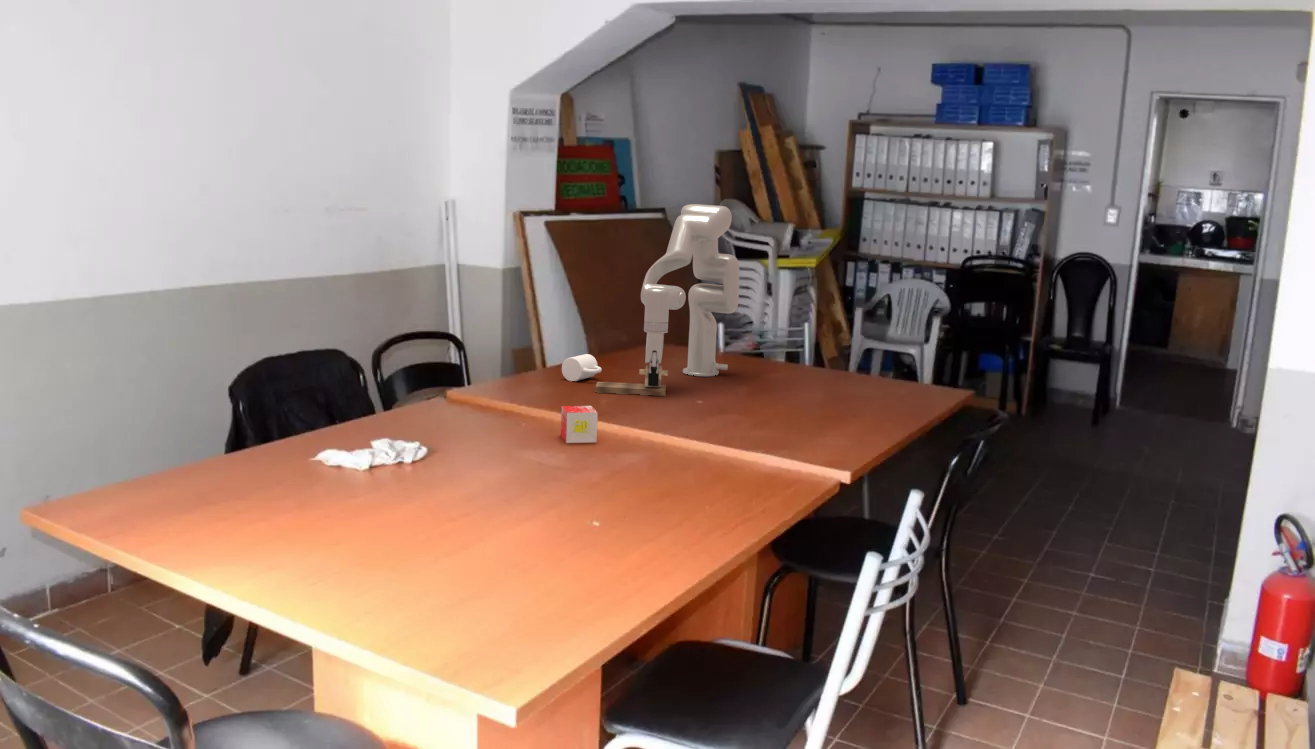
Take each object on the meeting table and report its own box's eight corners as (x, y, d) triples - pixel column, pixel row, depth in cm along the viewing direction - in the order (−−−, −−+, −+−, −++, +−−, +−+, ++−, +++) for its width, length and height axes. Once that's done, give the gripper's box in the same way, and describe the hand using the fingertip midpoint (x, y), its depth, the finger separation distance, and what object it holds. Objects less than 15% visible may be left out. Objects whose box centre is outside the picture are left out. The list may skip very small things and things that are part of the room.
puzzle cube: (566, 443, 276) (567, 413, 275) (560, 435, 284) (561, 406, 282) (596, 442, 278) (597, 412, 277) (590, 435, 286) (591, 405, 284)
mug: (560, 380, 357) (561, 356, 356) (577, 375, 366) (578, 352, 364) (591, 384, 351) (592, 360, 350) (607, 380, 360) (608, 356, 359)
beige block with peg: (667, 384, 344) (668, 363, 343) (667, 387, 340) (668, 366, 339) (639, 383, 344) (640, 362, 343) (638, 386, 340) (639, 364, 339)
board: (665, 391, 347) (665, 384, 346) (665, 396, 339) (665, 389, 338) (597, 387, 347) (597, 381, 346) (595, 392, 339) (595, 386, 338)
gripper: (644, 322, 347) (642, 378, 350) (643, 330, 331) (640, 388, 334) (668, 324, 347) (665, 379, 350) (667, 331, 330) (664, 390, 334)
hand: (653, 383), depth 342 cm, fingers closed on beige block with peg, 4 cm apart
